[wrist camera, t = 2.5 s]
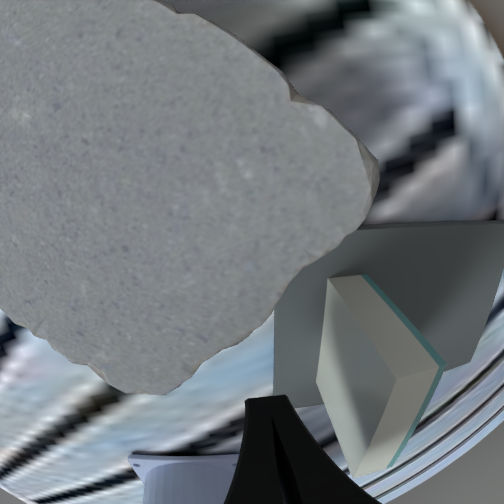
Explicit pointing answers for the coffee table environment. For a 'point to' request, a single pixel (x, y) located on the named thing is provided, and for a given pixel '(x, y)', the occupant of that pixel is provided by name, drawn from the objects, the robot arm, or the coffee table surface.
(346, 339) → the tile
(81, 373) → the coffee table surface
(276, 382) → the mat
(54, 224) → the decorative stone
